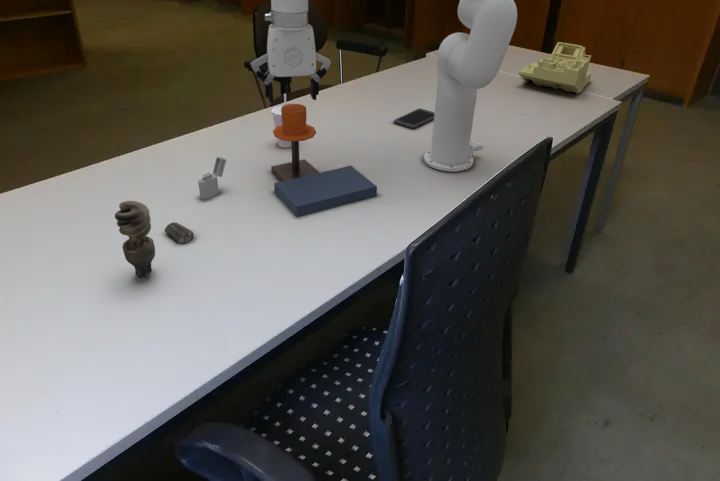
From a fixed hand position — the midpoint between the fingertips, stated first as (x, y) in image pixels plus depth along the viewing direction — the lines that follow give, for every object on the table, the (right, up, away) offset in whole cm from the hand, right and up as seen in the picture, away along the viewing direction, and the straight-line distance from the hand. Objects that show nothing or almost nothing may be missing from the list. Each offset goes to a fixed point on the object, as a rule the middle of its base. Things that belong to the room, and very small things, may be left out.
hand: (292, 99), depth 129 cm
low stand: (+7, -21, +3) cm, 22 cm away
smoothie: (-5, -6, +25) cm, 27 cm away
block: (-21, -31, -13) cm, 40 cm away
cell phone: (+32, +4, +43) cm, 54 cm away
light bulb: (-24, -38, -24) cm, 51 cm away
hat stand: (0, -16, +11) cm, 19 cm away
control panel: (+83, +23, +73) cm, 113 cm away
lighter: (-18, -21, +2) cm, 28 cm away
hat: (0, -7, +4) cm, 8 cm away
